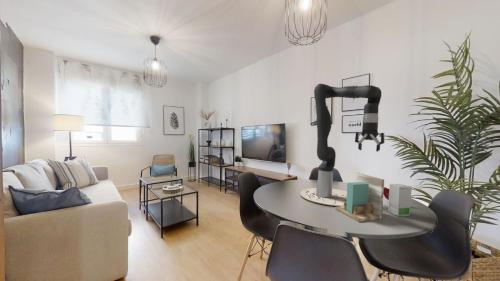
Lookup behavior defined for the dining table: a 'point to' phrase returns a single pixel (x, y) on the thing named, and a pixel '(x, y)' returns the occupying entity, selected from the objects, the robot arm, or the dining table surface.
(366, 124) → the robot arm
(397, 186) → the skincare box
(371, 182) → the book rack
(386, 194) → the white red flat box
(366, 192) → the book
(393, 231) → the dining table surface
